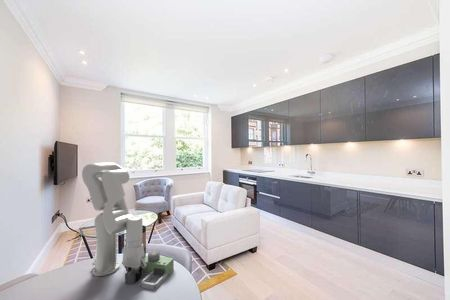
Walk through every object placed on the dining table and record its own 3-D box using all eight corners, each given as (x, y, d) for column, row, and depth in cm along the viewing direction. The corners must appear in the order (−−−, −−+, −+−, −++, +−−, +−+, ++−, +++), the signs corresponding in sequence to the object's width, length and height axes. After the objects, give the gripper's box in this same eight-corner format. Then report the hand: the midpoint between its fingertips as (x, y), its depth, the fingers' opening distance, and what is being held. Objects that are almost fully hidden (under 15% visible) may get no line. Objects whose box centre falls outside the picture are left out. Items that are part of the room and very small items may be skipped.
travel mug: (140, 266, 106) (140, 230, 107) (128, 265, 107) (129, 229, 108) (148, 259, 113) (148, 225, 114) (137, 258, 115) (137, 225, 116)
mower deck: (126, 283, 91) (126, 265, 91) (148, 265, 107) (148, 249, 107) (155, 289, 87) (155, 269, 87) (173, 269, 102) (173, 252, 103)
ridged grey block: (124, 283, 92) (125, 272, 92) (135, 274, 98) (135, 264, 99) (132, 284, 90) (132, 274, 91) (142, 276, 97) (142, 266, 97)
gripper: (114, 243, 94) (114, 280, 93) (143, 247, 89) (142, 286, 88) (126, 237, 101) (126, 272, 100) (153, 240, 96) (153, 277, 96)
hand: (134, 278), depth 94 cm, fingers closed on ridged grey block, 4 cm apart
